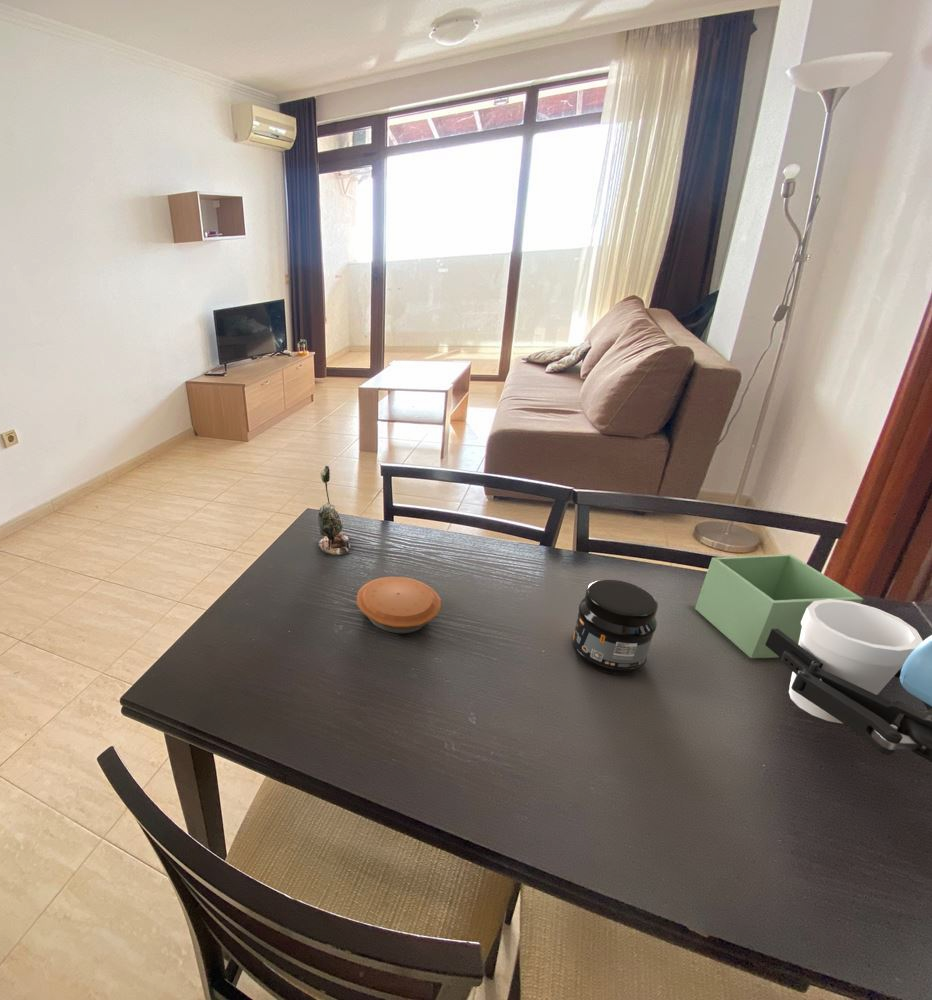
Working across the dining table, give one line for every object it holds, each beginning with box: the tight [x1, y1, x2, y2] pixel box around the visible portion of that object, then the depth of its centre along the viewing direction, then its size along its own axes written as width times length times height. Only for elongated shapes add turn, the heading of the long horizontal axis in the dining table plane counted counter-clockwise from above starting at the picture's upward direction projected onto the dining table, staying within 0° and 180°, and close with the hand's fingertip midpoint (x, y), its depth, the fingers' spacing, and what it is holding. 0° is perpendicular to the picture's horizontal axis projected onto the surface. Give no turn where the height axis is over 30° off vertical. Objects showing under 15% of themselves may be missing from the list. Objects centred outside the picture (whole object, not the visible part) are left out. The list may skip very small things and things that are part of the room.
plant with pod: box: [317, 465, 352, 556], centre depth 123 cm, size 8×11×20 cm
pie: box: [356, 576, 442, 634], centre depth 102 cm, size 15×16×5 cm
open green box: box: [694, 553, 864, 659], centre depth 89 cm, size 13×13×11 cm
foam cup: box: [788, 599, 924, 724], centre depth 66 cm, size 10×9×13 cm
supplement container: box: [571, 579, 659, 676], centre depth 87 cm, size 10×10×12 cm
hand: (812, 635), depth 70 cm, fingers closed on foam cup, 9 cm apart
